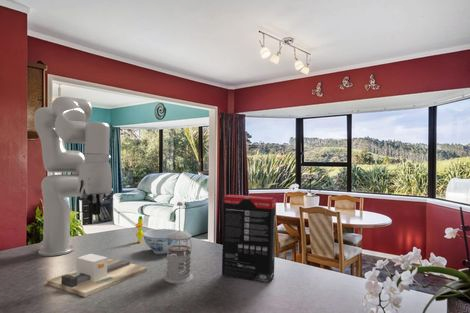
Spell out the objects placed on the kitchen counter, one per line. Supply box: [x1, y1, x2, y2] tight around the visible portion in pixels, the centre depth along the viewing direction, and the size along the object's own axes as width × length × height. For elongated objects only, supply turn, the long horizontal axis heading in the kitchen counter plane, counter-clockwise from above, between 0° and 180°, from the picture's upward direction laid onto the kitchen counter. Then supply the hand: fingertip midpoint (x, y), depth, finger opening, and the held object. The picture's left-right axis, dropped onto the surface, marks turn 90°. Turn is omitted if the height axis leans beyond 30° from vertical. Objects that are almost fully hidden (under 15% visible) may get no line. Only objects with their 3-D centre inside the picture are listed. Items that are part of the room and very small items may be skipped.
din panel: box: [46, 258, 148, 298], centre depth 104 cm, size 18×24×4 cm
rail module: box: [76, 253, 108, 281], centre depth 101 cm, size 9×5×6 cm, turn 62°
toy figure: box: [135, 215, 145, 244], centre depth 146 cm, size 7×4×12 cm, turn 174°
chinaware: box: [143, 228, 179, 255], centre depth 133 cm, size 15×15×8 cm
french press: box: [163, 201, 194, 284], centre depth 106 cm, size 10×12×25 cm
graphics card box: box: [221, 194, 277, 284], centre depth 106 cm, size 17×7×27 cm, turn 71°
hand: (95, 214), depth 105 cm, fingers closed
